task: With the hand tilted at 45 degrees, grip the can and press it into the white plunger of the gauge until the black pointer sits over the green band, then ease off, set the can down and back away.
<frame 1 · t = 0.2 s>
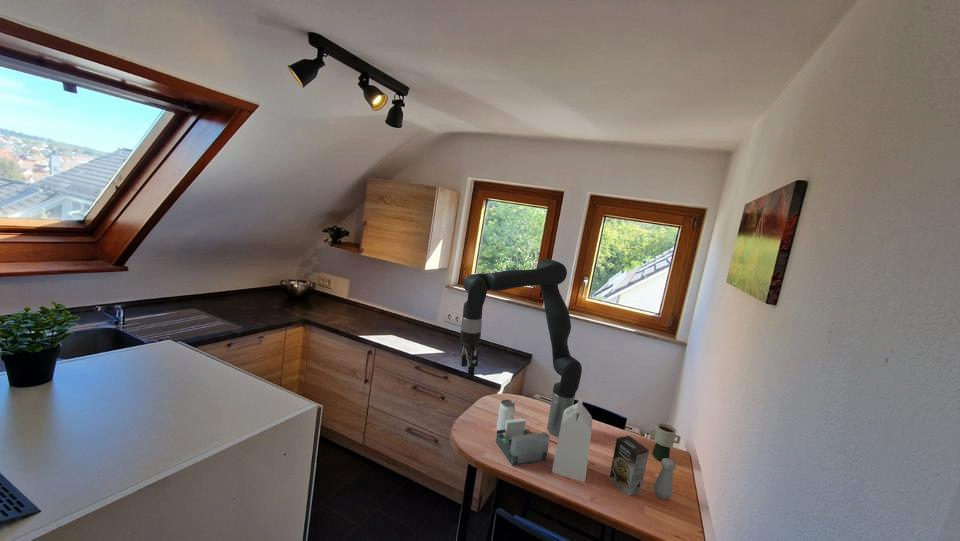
hand: (467, 370, 145), 29 cm above the table, tool pointing down, fingers open, 8 cm apart
can: (504, 430, 162), on the table
salt shaker: (661, 495, 133), on the table
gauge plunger: (510, 429, 153), point 5 cm above the table, slide at 0.0 cm
character mug: (660, 458, 155), on the table
milk: (569, 467, 142), on the table
coffee box: (624, 486, 136), on the table
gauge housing: (514, 444, 153), on the table
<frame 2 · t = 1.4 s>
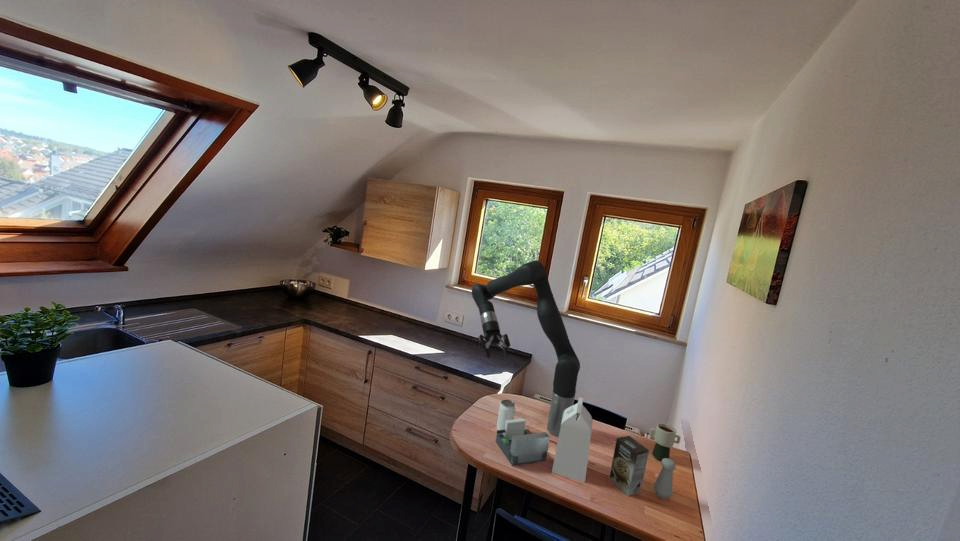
hand: (497, 357, 169), 27 cm above the table, tool tilted 45°, fingers open, 8 cm apart
nothing on the table moved.
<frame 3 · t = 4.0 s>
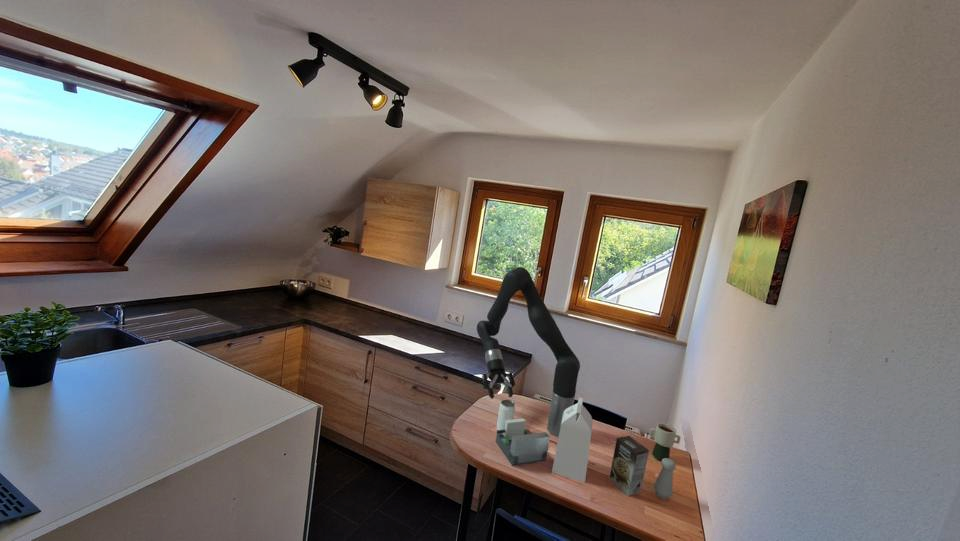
hand: (501, 397, 166), 11 cm above the table, tool tilted 45°, fingers open, 8 cm apart
nothing on the table moved.
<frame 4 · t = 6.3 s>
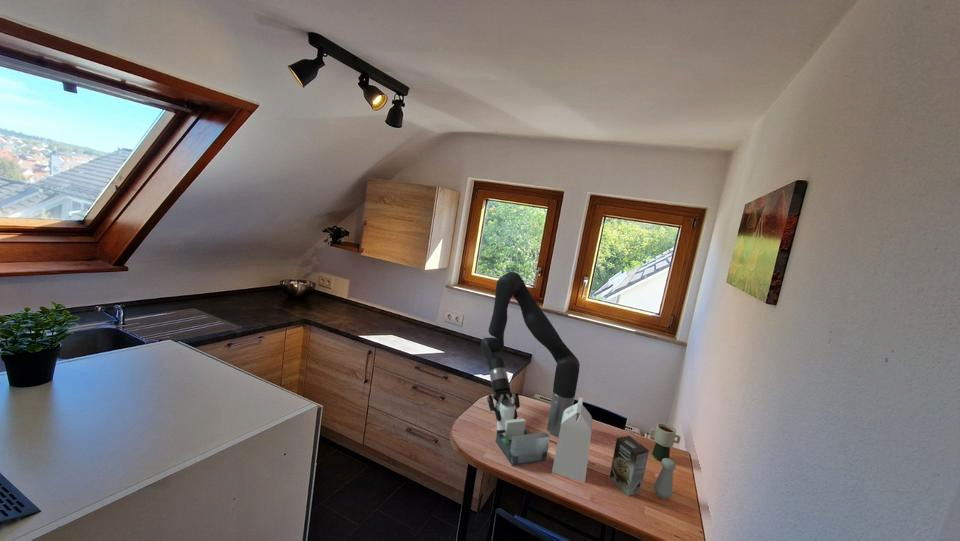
hand: (507, 419, 159), 5 cm above the table, tool tilted 45°, fingers closed on can, 6 cm apart
can: (504, 430, 162), on the table, touching gripper
everything else where it was.
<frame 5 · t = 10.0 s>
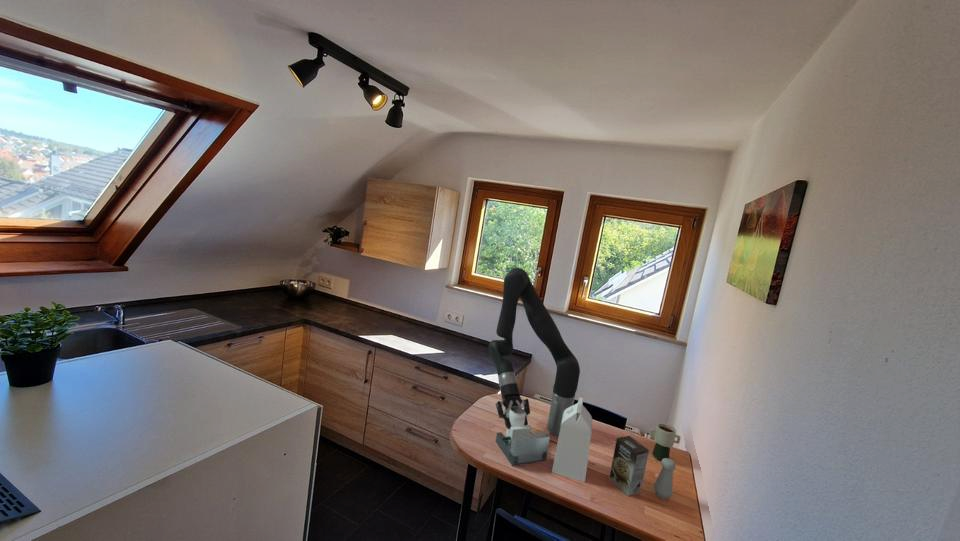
hand: (517, 427, 151), 7 cm above the table, tool tilted 45°, fingers closed on can, 6 cm apart
can: (513, 438, 154), point 2 cm above the table, touching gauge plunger, gripper
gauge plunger: (515, 436, 149), point 5 cm above the table, slide at 4.8 cm, touching can
everything else where it was.
when the fingers open (6 cm above the table, at t = 14.0 s): can stays where it is, on the table.
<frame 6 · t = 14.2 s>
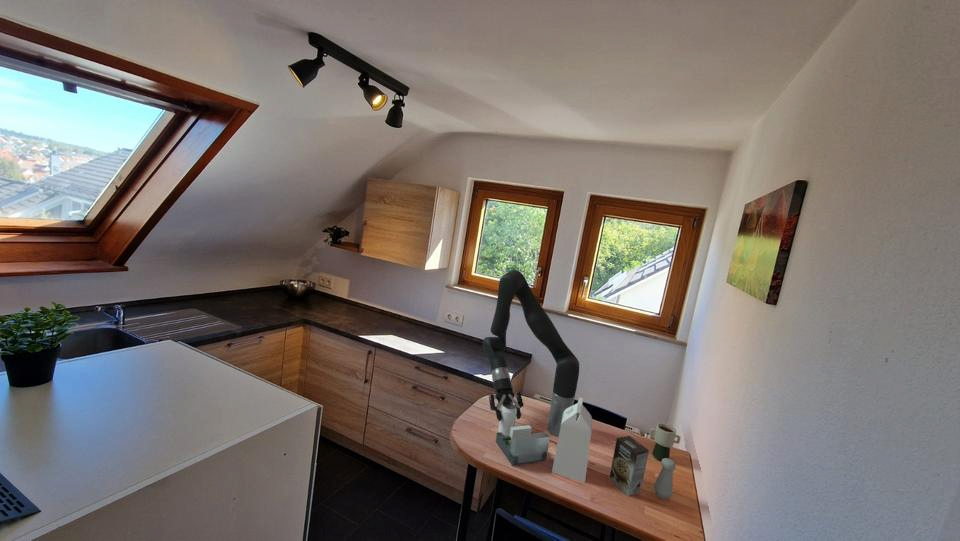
hand: (509, 419, 158), 7 cm above the table, tool tilted 45°, fingers open, 8 cm apart
can: (505, 432, 160), on the table
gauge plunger: (516, 437, 148), point 5 cm above the table, slide at 5.0 cm
everything else where it was.
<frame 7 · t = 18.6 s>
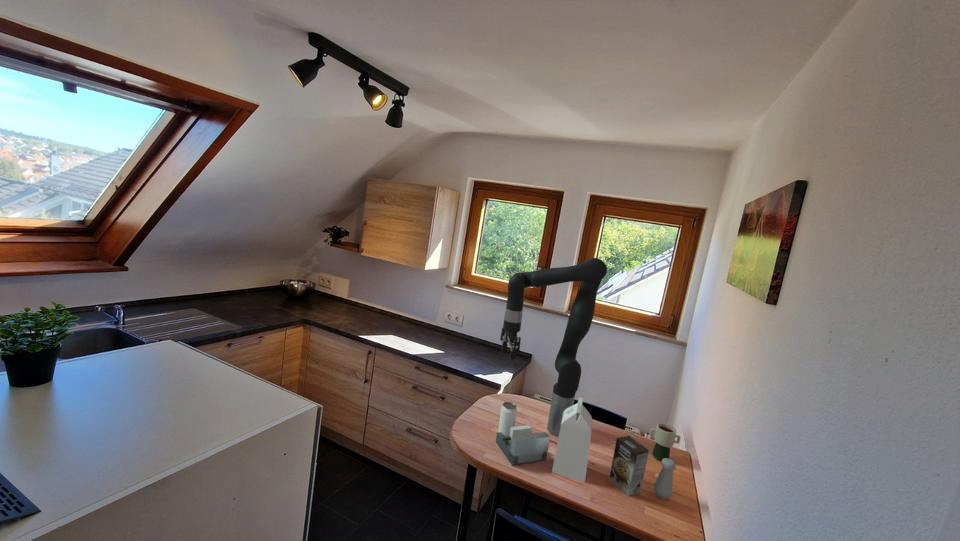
hand: (508, 355, 169), 28 cm above the table, tool pointing down, fingers open, 8 cm apart
nothing on the table moved.
at the end: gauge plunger slide at 5.0 cm; can tilted 0°; the gripper is holding nothing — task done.
